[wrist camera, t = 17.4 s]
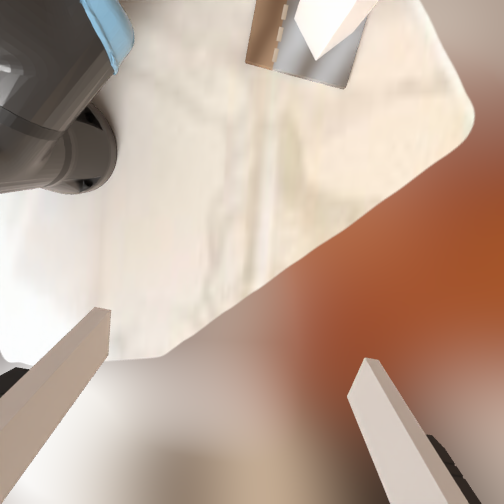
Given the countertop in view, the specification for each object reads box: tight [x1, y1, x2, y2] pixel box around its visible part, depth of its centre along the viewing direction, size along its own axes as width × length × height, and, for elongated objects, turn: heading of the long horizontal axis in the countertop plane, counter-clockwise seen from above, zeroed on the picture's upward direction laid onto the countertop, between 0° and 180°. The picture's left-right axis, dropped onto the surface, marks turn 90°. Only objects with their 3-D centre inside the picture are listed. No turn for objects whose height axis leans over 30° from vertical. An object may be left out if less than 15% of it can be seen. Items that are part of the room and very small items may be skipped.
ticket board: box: [245, 0, 367, 89], centre depth 37 cm, size 15×13×1 cm
